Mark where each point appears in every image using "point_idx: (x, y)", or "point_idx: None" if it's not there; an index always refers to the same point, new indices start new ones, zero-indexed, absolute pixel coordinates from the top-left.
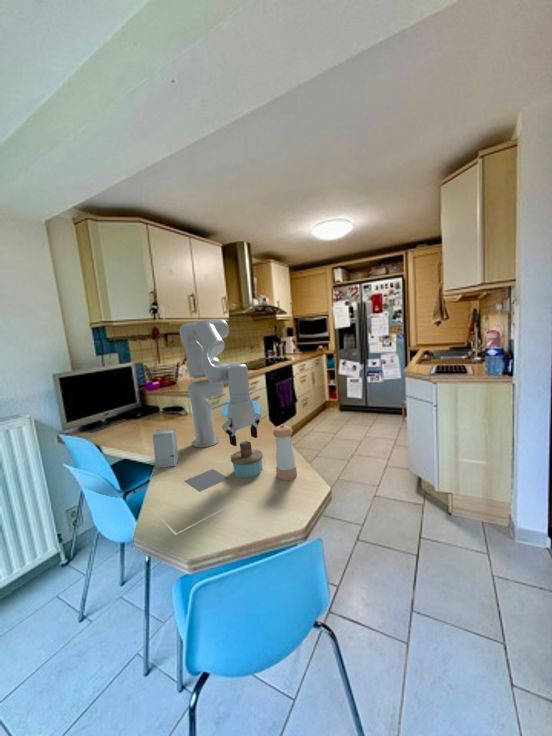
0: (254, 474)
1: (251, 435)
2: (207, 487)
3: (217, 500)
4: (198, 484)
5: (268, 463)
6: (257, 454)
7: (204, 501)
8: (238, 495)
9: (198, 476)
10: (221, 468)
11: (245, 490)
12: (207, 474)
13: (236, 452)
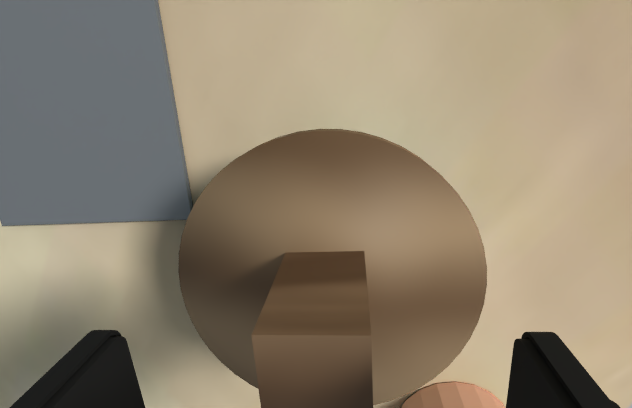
0: None
1: (523, 359)
2: (49, 217)
3: (68, 348)
4: (8, 141)
5: (509, 237)
6: (405, 349)
7: (14, 311)
8: (161, 385)
9: (27, 23)
10: (220, 17)
11: (207, 377)
12: (90, 47)
13: (296, 142)
